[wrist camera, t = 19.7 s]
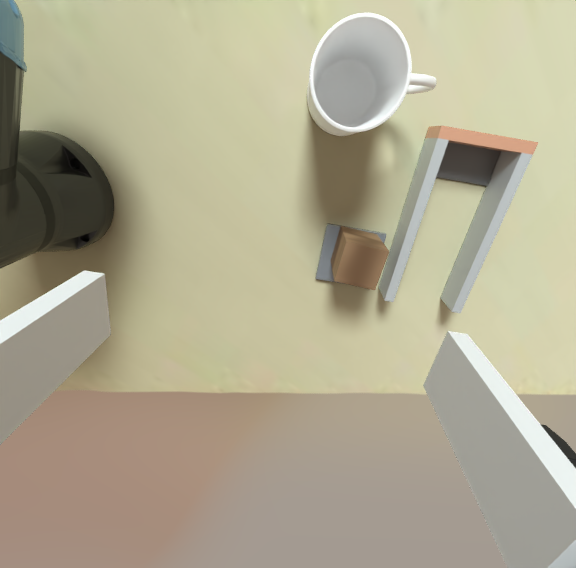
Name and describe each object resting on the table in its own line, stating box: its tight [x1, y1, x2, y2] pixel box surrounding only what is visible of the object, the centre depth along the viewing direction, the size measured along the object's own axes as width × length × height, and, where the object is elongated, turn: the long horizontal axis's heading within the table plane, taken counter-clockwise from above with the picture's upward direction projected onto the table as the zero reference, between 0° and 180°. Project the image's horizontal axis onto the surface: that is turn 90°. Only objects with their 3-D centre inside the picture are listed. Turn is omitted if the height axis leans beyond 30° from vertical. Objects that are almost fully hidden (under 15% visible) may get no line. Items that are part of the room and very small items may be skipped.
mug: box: [307, 13, 436, 136], centre depth 30 cm, size 12×8×12 cm
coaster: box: [316, 224, 386, 284], centre depth 44 cm, size 8×8×1 cm
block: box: [331, 226, 389, 290], centre depth 40 cm, size 5×5×7 cm
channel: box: [378, 126, 538, 313], centre depth 39 cm, size 10×21×4 cm, turn 171°
